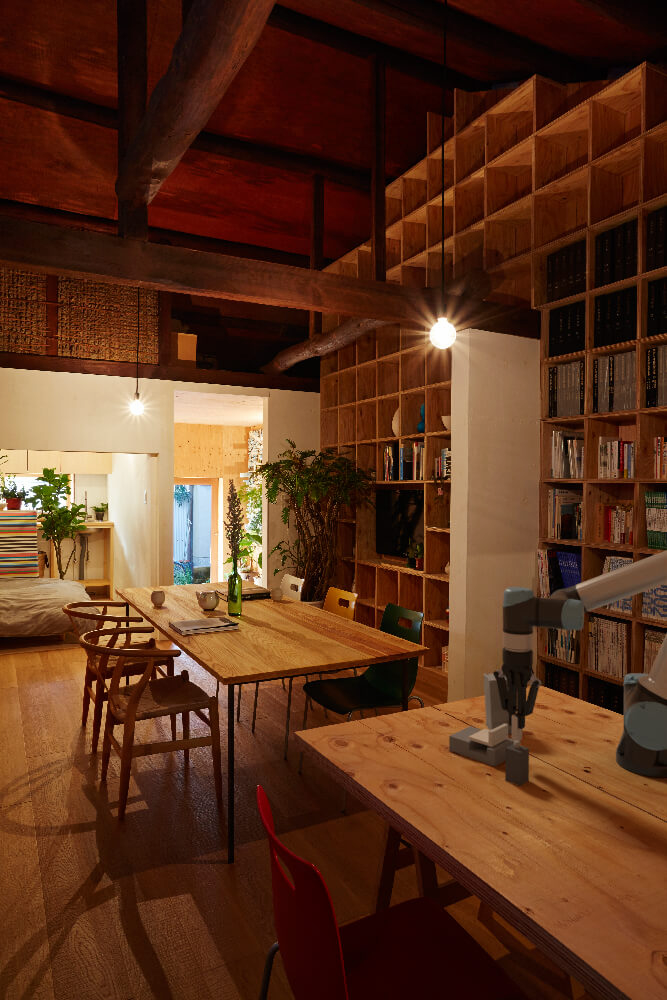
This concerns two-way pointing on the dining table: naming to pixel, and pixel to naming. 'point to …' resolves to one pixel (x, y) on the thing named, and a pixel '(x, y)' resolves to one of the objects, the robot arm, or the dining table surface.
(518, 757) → the plug
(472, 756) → the socket
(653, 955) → the dining table surface
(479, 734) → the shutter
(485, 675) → the skincare box
